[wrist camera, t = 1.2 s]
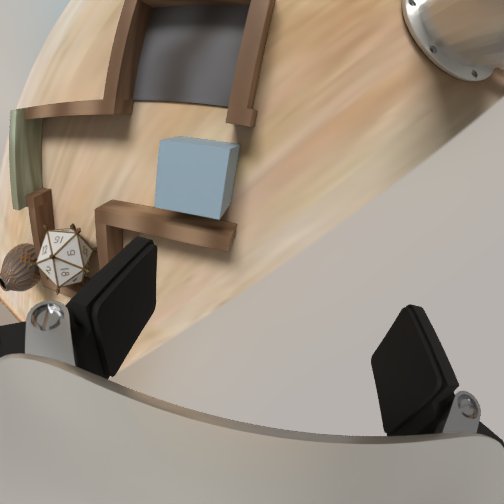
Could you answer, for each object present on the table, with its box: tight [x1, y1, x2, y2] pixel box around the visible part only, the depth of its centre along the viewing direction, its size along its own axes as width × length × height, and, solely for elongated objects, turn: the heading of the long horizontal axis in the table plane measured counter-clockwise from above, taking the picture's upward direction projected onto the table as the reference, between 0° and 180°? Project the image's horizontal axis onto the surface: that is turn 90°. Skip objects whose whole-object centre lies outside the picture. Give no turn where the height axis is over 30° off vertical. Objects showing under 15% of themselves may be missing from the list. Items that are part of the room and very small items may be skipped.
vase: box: [0, 243, 41, 291], centre depth 31 cm, size 7×7×9 cm
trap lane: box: [9, 0, 275, 298], centre depth 24 cm, size 30×38×5 cm
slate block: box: [155, 136, 240, 220], centre depth 24 cm, size 6×6×5 cm
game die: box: [30, 224, 97, 295], centre depth 29 cm, size 9×8×10 cm
